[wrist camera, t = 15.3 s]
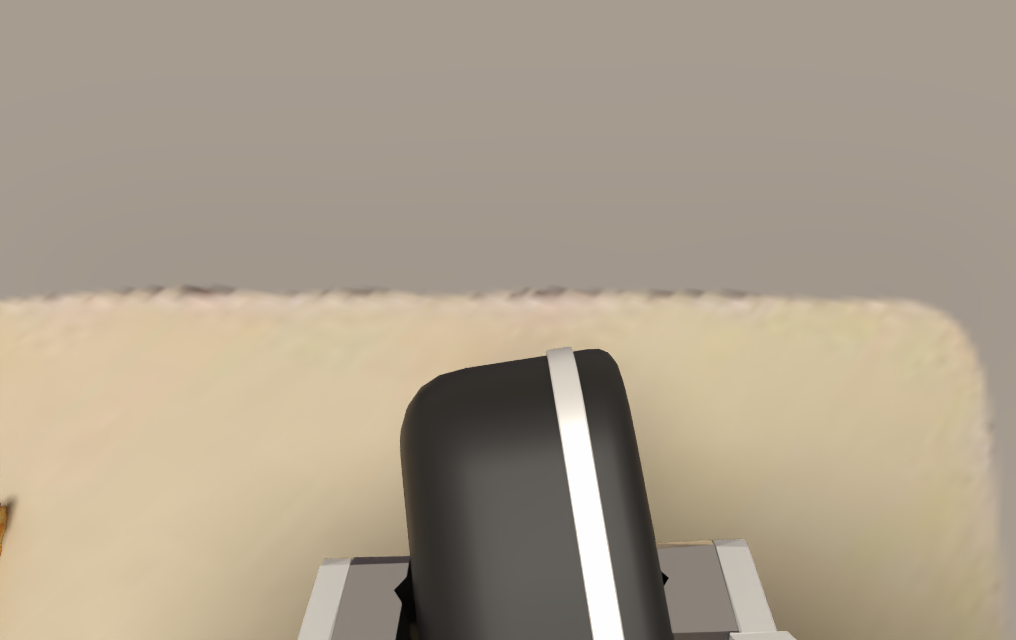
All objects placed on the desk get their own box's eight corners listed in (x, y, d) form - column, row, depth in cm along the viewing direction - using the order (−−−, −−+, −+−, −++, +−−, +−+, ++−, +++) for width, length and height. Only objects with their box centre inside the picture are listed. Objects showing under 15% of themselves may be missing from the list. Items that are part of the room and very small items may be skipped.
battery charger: (465, 424, 21) (360, 350, 10) (588, 406, 21) (616, 311, 10) (496, 671, 20) (409, 903, 8) (631, 653, 19) (720, 865, 8)
